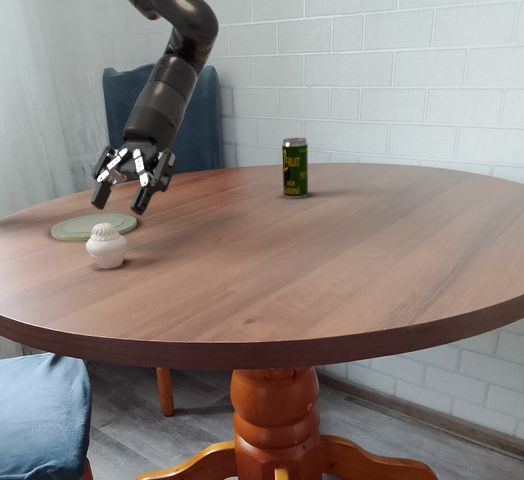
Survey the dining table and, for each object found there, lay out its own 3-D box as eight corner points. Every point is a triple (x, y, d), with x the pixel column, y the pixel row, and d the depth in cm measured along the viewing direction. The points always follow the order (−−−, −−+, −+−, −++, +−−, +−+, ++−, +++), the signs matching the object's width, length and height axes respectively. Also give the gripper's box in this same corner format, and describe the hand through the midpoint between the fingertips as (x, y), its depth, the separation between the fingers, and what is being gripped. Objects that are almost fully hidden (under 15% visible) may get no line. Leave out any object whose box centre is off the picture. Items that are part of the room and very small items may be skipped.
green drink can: (288, 193, 122) (287, 137, 117) (311, 194, 120) (311, 137, 115) (279, 199, 118) (278, 141, 112) (303, 200, 116) (302, 141, 110)
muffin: (131, 258, 88) (124, 215, 84) (129, 271, 82) (121, 225, 79) (93, 262, 87) (84, 218, 84) (88, 275, 82) (78, 229, 78)
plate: (35, 242, 98) (33, 236, 98) (76, 218, 112) (74, 213, 112) (117, 242, 96) (116, 236, 95) (148, 218, 109) (148, 212, 109)
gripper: (108, 103, 86) (67, 192, 83) (176, 103, 79) (134, 200, 76) (137, 134, 92) (99, 217, 90) (202, 137, 85) (164, 227, 83)
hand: (115, 209), depth 83 cm, fingers open, 8 cm apart
